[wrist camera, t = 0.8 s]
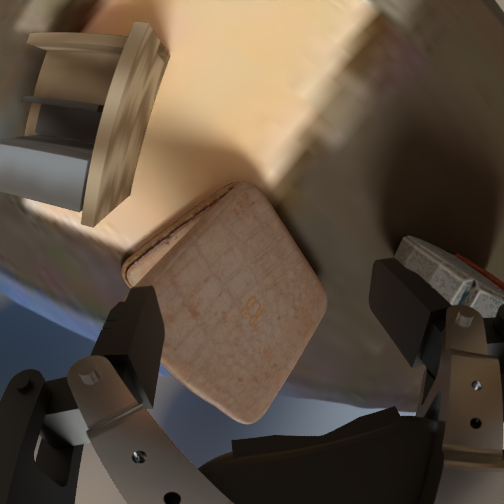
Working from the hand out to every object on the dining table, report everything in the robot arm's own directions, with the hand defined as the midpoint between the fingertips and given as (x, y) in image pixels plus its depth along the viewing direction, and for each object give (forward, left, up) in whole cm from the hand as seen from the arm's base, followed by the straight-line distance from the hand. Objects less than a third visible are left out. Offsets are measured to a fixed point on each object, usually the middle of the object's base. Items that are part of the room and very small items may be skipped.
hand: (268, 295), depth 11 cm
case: (+13, +3, -26) cm, 29 cm away
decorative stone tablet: (+2, +36, -26) cm, 44 cm away
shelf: (-3, -19, -26) cm, 32 cm away
